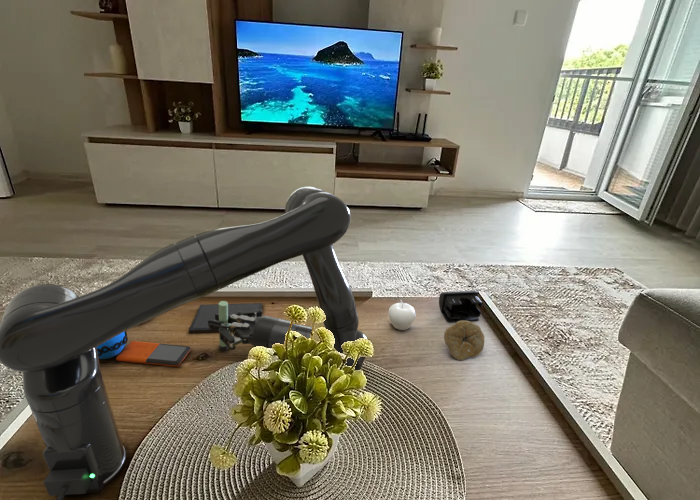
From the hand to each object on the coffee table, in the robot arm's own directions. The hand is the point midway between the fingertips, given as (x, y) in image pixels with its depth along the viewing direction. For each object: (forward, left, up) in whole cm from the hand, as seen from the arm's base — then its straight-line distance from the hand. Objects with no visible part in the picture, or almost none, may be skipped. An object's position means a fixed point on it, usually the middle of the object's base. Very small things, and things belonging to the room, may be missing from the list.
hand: (212, 320), depth 93 cm
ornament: (-2, +24, -8) cm, 25 cm away
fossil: (-5, -60, -8) cm, 60 cm away
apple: (+6, -47, -8) cm, 48 cm away
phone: (-2, +13, -8) cm, 16 cm away
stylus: (-1, -2, -7) cm, 8 cm away
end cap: (+10, -64, -8) cm, 65 cm away
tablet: (+12, -1, -7) cm, 14 cm away
